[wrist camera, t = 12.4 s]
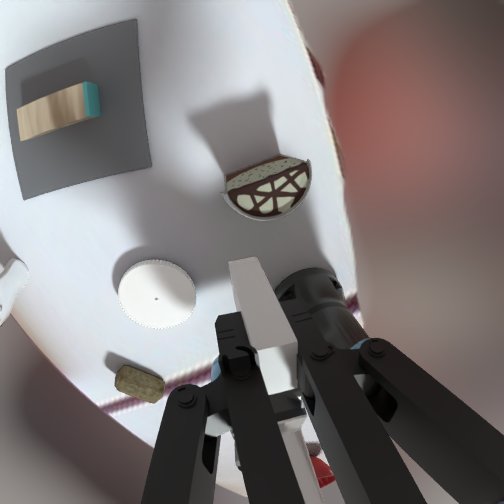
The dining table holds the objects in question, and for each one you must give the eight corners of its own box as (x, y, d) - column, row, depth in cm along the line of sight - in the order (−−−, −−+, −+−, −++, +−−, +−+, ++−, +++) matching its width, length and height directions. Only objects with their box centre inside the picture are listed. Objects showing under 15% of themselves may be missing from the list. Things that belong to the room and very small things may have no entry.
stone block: (122, 361, 56) (120, 378, 52) (167, 378, 61) (167, 395, 57) (114, 374, 57) (112, 390, 53) (157, 390, 62) (157, 406, 58)
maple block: (86, 81, 27) (16, 109, 26) (90, 116, 30) (20, 141, 28) (97, 84, 32) (32, 108, 30) (100, 115, 34) (36, 137, 32)
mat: (136, 19, 29) (136, 18, 28) (151, 166, 40) (151, 166, 40) (6, 69, 25) (5, 69, 25) (24, 199, 37) (23, 200, 36)
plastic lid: (205, 268, 50) (206, 275, 48) (184, 326, 55) (184, 335, 53) (127, 247, 45) (124, 254, 43) (115, 310, 50) (113, 318, 48)
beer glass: (3, 252, 39) (-36, 296, 26) (30, 260, 41) (-7, 308, 28) (7, 282, 42) (-26, 329, 29) (33, 290, 44) (3, 341, 31)
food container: (229, 213, 46) (239, 239, 37) (215, 179, 43) (222, 196, 34) (299, 185, 46) (325, 204, 38) (288, 150, 43) (314, 161, 35)
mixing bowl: (339, 448, 107) (350, 473, 94) (297, 472, 114) (305, 496, 101) (300, 447, 95) (311, 477, 82) (256, 472, 102) (263, 499, 88)
